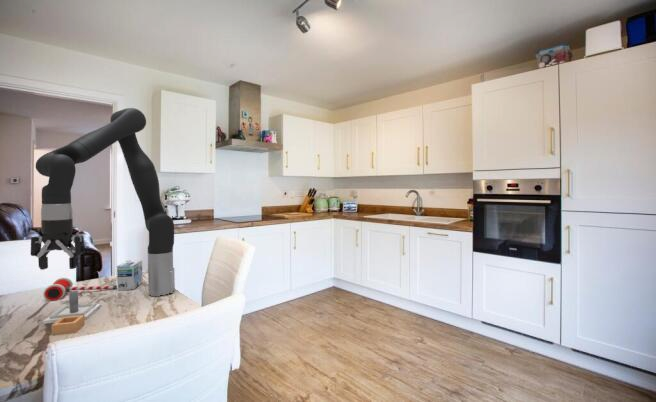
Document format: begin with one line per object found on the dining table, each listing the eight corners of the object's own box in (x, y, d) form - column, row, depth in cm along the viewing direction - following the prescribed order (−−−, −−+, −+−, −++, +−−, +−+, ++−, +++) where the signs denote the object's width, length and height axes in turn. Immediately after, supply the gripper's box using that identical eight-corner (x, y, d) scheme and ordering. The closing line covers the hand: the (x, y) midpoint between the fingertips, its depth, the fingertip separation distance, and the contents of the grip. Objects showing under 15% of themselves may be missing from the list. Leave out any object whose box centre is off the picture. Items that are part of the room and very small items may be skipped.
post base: (101, 306, 116) (100, 285, 116) (86, 319, 105) (85, 295, 104) (62, 309, 113) (61, 287, 112) (43, 323, 101) (42, 299, 101)
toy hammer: (118, 285, 141) (118, 271, 141) (114, 293, 131) (114, 278, 130) (53, 293, 131) (53, 278, 131) (43, 302, 120) (42, 286, 120)
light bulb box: (134, 290, 134) (133, 265, 134) (116, 291, 133) (116, 266, 132) (143, 282, 145) (142, 259, 144) (127, 283, 143) (126, 260, 143)
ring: (84, 324, 101) (84, 315, 101) (75, 332, 95) (75, 322, 95) (62, 326, 99) (62, 317, 99) (51, 335, 94) (51, 325, 93)
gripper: (89, 216, 103) (90, 265, 104) (42, 216, 102) (43, 266, 103) (73, 219, 96) (74, 271, 97) (22, 219, 94) (23, 272, 95)
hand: (58, 268), depth 100 cm, fingers open, 8 cm apart
